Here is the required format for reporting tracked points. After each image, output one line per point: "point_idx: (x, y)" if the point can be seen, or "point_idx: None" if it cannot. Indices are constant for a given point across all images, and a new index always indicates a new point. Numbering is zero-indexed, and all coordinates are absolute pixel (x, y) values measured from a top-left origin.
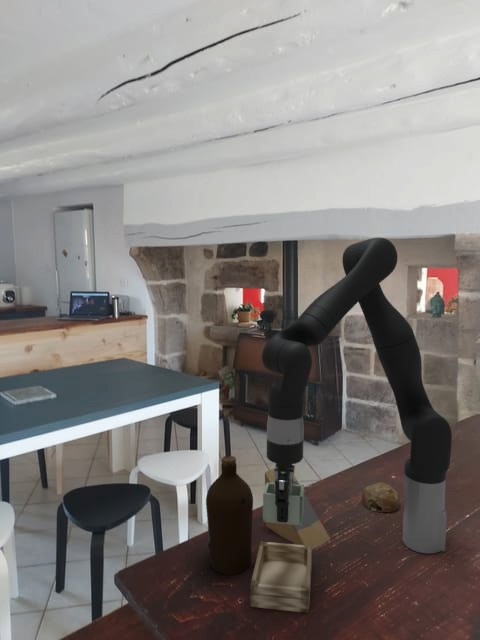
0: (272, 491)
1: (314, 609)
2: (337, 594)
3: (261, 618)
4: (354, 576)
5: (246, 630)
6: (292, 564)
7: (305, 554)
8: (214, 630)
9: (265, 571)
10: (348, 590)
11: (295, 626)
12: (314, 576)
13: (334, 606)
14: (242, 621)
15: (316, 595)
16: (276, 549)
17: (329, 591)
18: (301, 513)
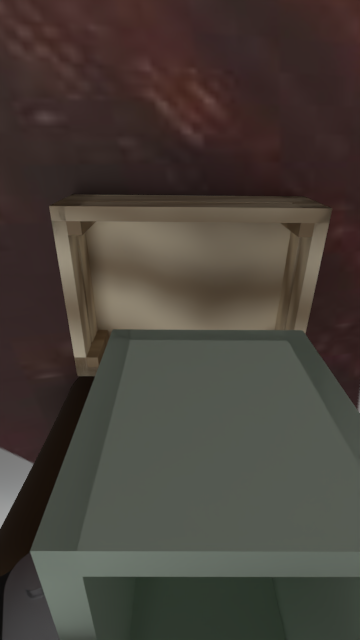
0: (126, 627)
1: (288, 179)
2: (214, 96)
3: (319, 315)
4: (97, 11)
5: (355, 340)
6: (102, 259)
7: (86, 226)
8: (349, 395)
9: (152, 329)
10: (187, 47)
11: (353, 232)
12: (131, 182)
13: (274, 109)
14: (326, 351)
15: (225, 174)
16: (86, 323)
17: (201, 127)
18: (339, 391)
